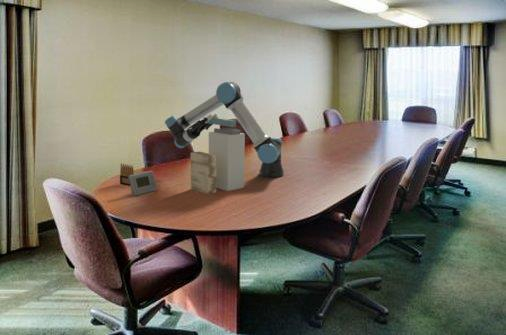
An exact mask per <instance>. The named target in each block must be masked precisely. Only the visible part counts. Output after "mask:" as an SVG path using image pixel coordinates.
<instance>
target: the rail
mask: <svg viewBox="0 0 506 335" xmlns="http://www.w3.org/2000/svg"><path fill="white" fill-rule="evenodd" d="M206 117H207V116H204V117H203V118H202V120H204V119H205V118H206ZM208 123H209V124H213V125H217V126H223V127H224V126H225V127H230V128H231V127H233V128H234V127H237V120H232V119H226V118H225V119H223V118H219V117H218V118H213V119H211V120H210V121H209V122H208Z"/></svg>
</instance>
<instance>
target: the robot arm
mask: <svg viewBox="0 0 506 335" xmlns="http://www.w3.org/2000/svg"><path fill="white" fill-rule="evenodd" d="M241 93H242V92H241V88H240V86H239V84H237V83H236V82H234V81H225V82H222V83H221V84H219V85H218V86H217V88H216V91H215V95H213V96H211V97H210V98H208V99H207V100H205V101H204V102H202V103H201V104H199V105H198V106H195V107H194V108H192V109H191V110H190V111H188V112H187V113H185V114H184V115H182V116H180V117H177V116H175V115H171V116H170V117H168V118H166V120H165V121H164V124H165V125H166V127H167V129H168V130H169V131H170V132H171V135H173V138H174V140H173V142H174V145H175V146H176V148H179V149H183V148H185V147H187V146H188V145H189V144H190V143H192V142H193V141H195V140H196V139H198V137H200V135H201V132H203V131H204V130H206V131H208V130H209V129H210V127H212V126H213V125H214V124H209V123H208V122H209V121H210V120H211V119H213V118H218V119H219V117H218V114H217V113H214V114H213V115H212V113H213V111H216V110H217V109H219V108H220V107H222V106H224V107H225V108H226V109H227V110H230V111H231V112H232V114H233V115H234V117H235V119H237V120H236V121H238V123H239V124H240V126H241V127H242V128H243V130H244V131H245V133H246V134H247V136H248V137H249V139H250V140H251V141H252V143H253V149H254V150H255V151H256V153H257V158H258V159H259V161H261V165H260V169H259V174H258V175H260V176H262V177H267V178H268V177H269V178H278V177H283V176H284V175H285V174H284V170H283V169H284V168H283V165H282V144H283V142H282V138H277V137H275V138H274V137H273V138H272V137H271V136H270V135H268V134H266V133H265V132H264V131H263V129H262V127H261V126H260V125H259V123H258V122H257V120H256V119H255V117H254V115H253V114H252V113H251V111H250V109H248V107H247V106H246V104H245V103H244V96H243V95H242V94H241ZM203 117H206V118H205V119H204V120H203Z"/></svg>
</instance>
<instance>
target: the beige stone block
mask: <svg viewBox="0 0 506 335" xmlns="http://www.w3.org/2000/svg"><path fill="white" fill-rule="evenodd" d="M190 189H191V190H194V191H197V192H198V193H199V192H200V193H202V194H206V195H209V194H214V193H217V188H216V155H214V154H209V152H203V151H193V152H190Z"/></svg>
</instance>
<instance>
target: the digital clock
mask: <svg viewBox="0 0 506 335" xmlns="http://www.w3.org/2000/svg"><path fill="white" fill-rule="evenodd" d="M128 179H129V182H130V186H129V187H130V189H131V194H132V195H133V196H134V197H136V196H142V195H146V194H149V193H153V192H157V190H158V184H157V182H156V178H155V174H154V171H153V170H149V171H143V172H138V173H134V174H133V175H129V176H128Z"/></svg>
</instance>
